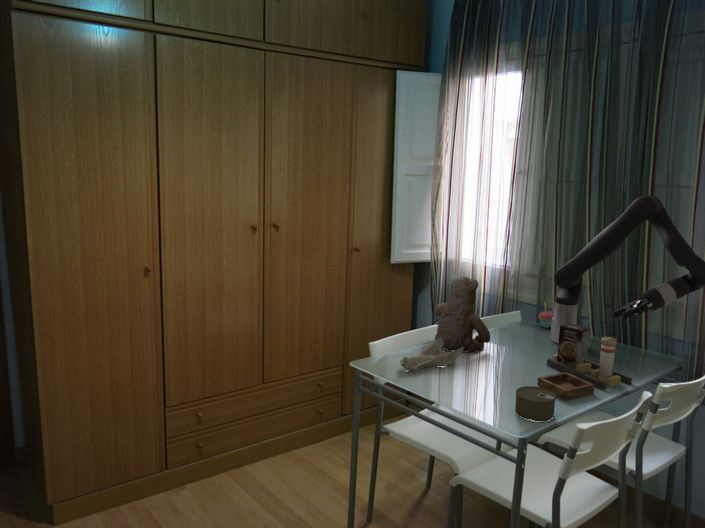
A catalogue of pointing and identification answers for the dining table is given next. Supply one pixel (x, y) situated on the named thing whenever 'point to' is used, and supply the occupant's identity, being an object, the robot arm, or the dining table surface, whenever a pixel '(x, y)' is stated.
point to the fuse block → (593, 377)
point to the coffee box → (572, 344)
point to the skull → (431, 357)
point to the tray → (566, 385)
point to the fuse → (606, 358)
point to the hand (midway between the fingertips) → (618, 316)
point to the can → (535, 403)
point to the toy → (461, 318)
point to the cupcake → (546, 318)
